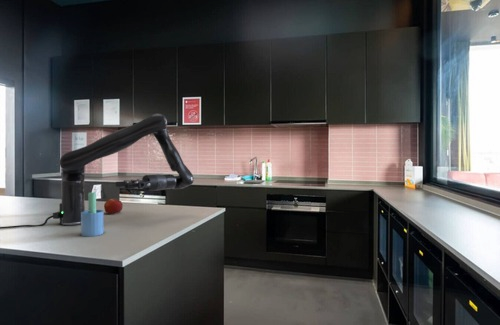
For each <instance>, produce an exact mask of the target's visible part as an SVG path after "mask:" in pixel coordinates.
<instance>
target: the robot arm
mask: <svg viewBox="0 0 500 325" xmlns="http://www.w3.org/2000/svg"><path fill="white" fill-rule="evenodd" d="M167 127H168V119H167V117H166V115H164V114H162V113H157V112H156V113H153V114H151V115H149V116H148V117H146V118H144V119H142V120H140V121H138V122H137V123H133V124H131V125H128V126H126V127H123V128H121V129H118V130H115V131H114V132H111V133H109V134H107V135H105V136H103V137H101V138H99V139H97V140H95V141H93V142H92V143H90V144H88V145H86V146H83V147H80V148H77V149H74V150H70V151H67V152H65V153H63V154H62V155H61V156H60V158H59V166H60V168H61V175H62V176H61V182H60V188H61V189H60V191H61V192H60V193H61V196H60V197H61V202H60V203H59V211H55V212H52V215H50V216H48V217H47V218H45V220H44V222H43V223H41V224H19V225H18V224H17V225H7V226H0V230H2V229H3V230H4V229H15V228H26V227H27V228H31V227H32V228H35V227H42V226H45V225H46V224H47V223H48V221H49V220H50V219H54V220H59V225H62V226H77V225H81V212H83V211H86V210H85V208H86V207H85V205H86V204H85V181H86V166H87V165H88V164H91V163H92V162H94V161H96V160H99V159H102V158H105V157H109V156H111V155H114V154H117V153H120V152H121V151H124V150H126V149H127V148H129V147H130V146H132V145H134V144H136V143H137V142H138V141H140V140H141V139H142V138H144V137H146V136H149V135H153V137H154V138H155V139H156V141H157V143H158V144H159V146H160V149H161V151H162V153H163V155H164V158H165V160H166V162H167V164H168V166H169V168H170V170H171V171H172V172H176V173H177V174H178V175H174V174H145V175H144V176H142V178H136V179H129V180H128V179H127V180H126V179H124V180H121V181H116V182H115V187H116V188H118V187H124V189H137V190H139V189H143V191H145V192H155V191H163V190H171V189H172V190H183V189H185V188H187V187H189V186H192V185H193V183H194V180H195V179H194V175H193V173H192V172H191V170H190V169H189V168H188V167H187V165H186V164H185V163H184V161H183V159H182V156H181V155H180V152H179V151H178V149H177V148H176V146H175V144H174V143H173V141H172V139H171V136H170V134H169V131H168V128H167Z"/></svg>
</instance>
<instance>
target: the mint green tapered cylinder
mask: <svg viewBox="0 0 500 325" xmlns="http://www.w3.org/2000/svg"><path fill="white" fill-rule="evenodd" d="M87 197H88V198H87V199H88V202H87V206H88V210H87V211H88V212H89V213H96V210H97V192H88V193H87Z"/></svg>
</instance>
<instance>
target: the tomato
mask: <svg viewBox="0 0 500 325" xmlns="http://www.w3.org/2000/svg"><path fill="white" fill-rule="evenodd" d="M103 206H104V207H103V208H104V212H105V213H106V214H118V213H121V211H122V210H123V207H124V206H123V202H122V201H121V200H119V199H117V198H109V199H108V200H106V201H105V202H104V203H103Z"/></svg>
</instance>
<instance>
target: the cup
mask: <svg viewBox="0 0 500 325" xmlns="http://www.w3.org/2000/svg"><path fill="white" fill-rule="evenodd" d="M104 230H105V229H104V210H103V209H96V213H89V212H88V210H85V211H83V212H81V224H80V236H82V237H97V236H100V235H103V234H104V232H105V231H104Z"/></svg>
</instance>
